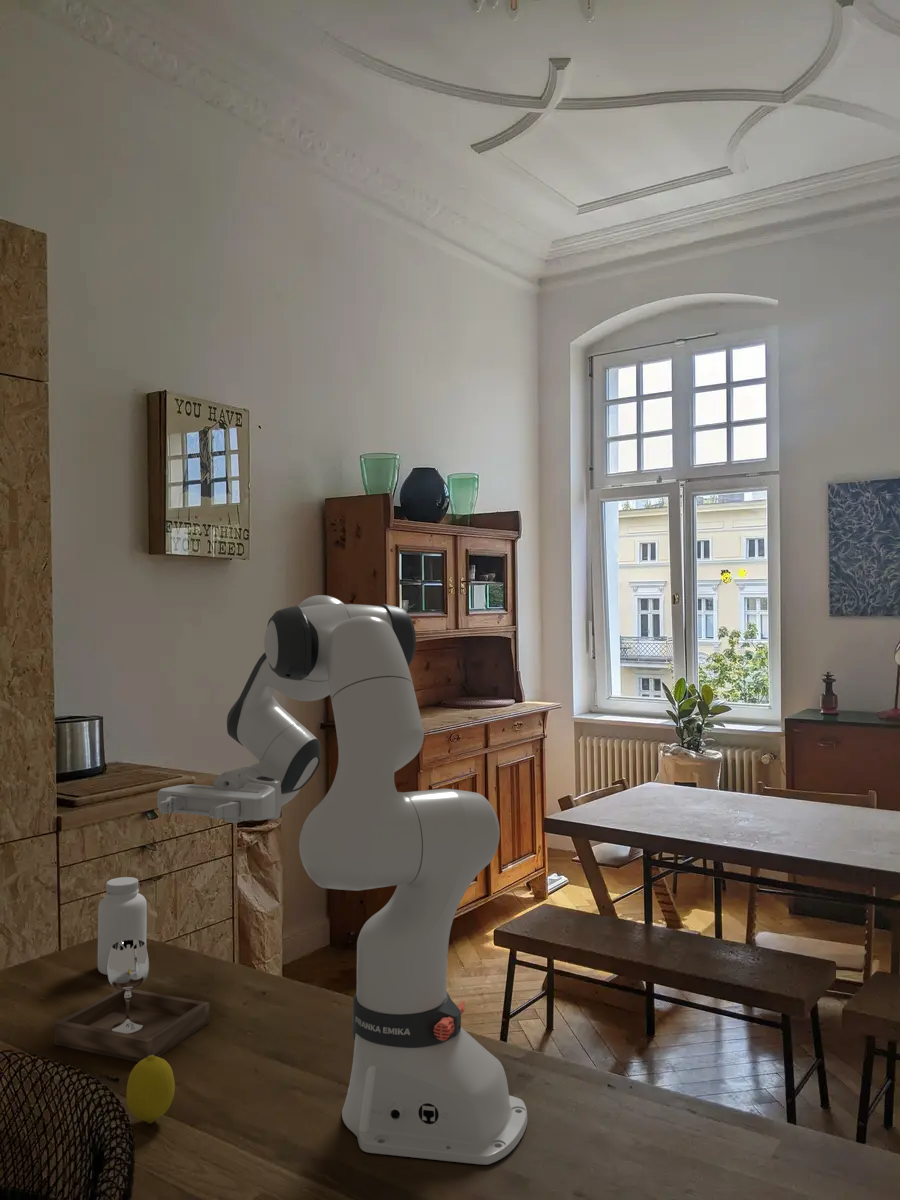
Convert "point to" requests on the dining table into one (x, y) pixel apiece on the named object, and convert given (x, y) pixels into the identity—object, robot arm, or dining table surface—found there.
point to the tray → (157, 1012)
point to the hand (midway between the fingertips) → (187, 810)
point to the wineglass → (128, 975)
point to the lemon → (150, 1088)
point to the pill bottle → (120, 917)
